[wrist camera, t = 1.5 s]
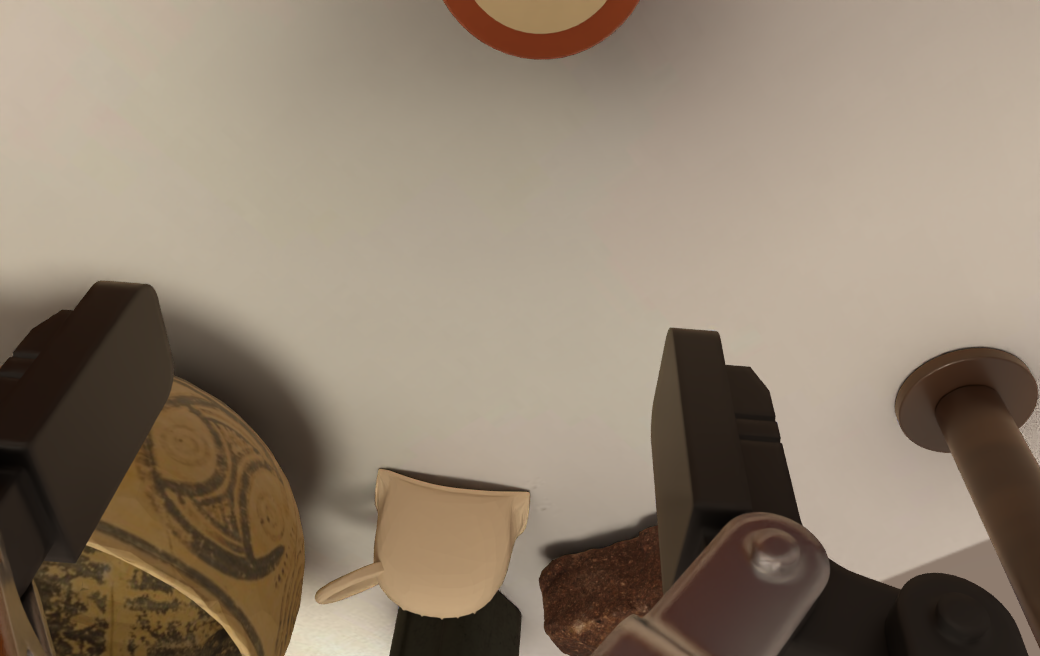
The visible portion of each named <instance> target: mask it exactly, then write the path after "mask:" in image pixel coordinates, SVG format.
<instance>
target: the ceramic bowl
mask: <svg viewBox="0 0 1040 656" xmlns="http://www.w3.org/2000/svg"><path fill="white" fill-rule="evenodd" d="M1 367H2V366H1ZM1 367H0V368H1ZM304 568H305V548H304V537H303V532H302V526H301V521H300V516H299V511H298V508H297V505H296V502H295V499H294V496H293V494H292V491H291V488H290V485H289V482H288V480H287V478H286V476H285V475H284V473H283V471H282V469H281V468H280V466H279V464H278V463H277V461H276V459H275V457H274V456H273V454H272V452H271V451H270V449H269V448H268V447H267V446H266V444H265V443H264V442H263V441H262V439H261V438H260V437H259V436H258V434H257V433H256V432H255V431H254V430H253V429H252V428H251V427H250V426H249V425H248V424H247V423H246V422H245V421H244V420H243V419H242V418H241V417H240V416H239V415H238V414H237V413H236V412H234V411H233V410H232V409H231V408H230V407H228V406H227V405H226V404H225V403H224V402H222V401H220V400H219V399H217V398H215V397H214V396H212V395H210V394H209V393H207V392H205V391H203V390H202V389H200V388H198V387H197V386H195V385H193V384H192V383H190V382H188V381H186V380H184V379H182V378H179V377H177V376H174V378H173V384H172V389H171V392H170V395H169V397H168V399H167V401H166V403H165V405H164V407H163V408H162V410H161V412H160V414H159V416H158V417H157V419H156V421H155V423H154V425H153V426H152V428H151V430H150V432H149V433H148V435H147V437H146V439H145V441H144V442H143V444H142V446H141V448H140V450H139V451H138V453H137V455H136V457H135V458H134V460H133V462H132V464H131V466H130V467H129V469H128V471H127V473H126V474H125V476H124V478H123V480H122V482H121V483H120V485H119V487H118V489H117V491H116V492H115V494H114V496H113V498H112V499H111V501H110V503H109V505H108V507H107V508H106V510H105V512H104V514H103V516H102V517H101V519H100V521H99V523H98V524H97V526H96V528H95V530H94V532H93V533H92V535H91V537H90V539H89V541H88V542H87V544H86V546H85V548H84V549H83V551H82V553H81V555H80V557H79V558H78V560H77V562H76V564H75V563H63V562H52V561H43V563H42V564H41V566H40V568H39V569H38V571H37V573H36V574H35V576H34V578H33V580H34V582H35V584H36V586H37V589H38V592H39V595H40V599H41V603H42V606H43V610H44V613H45V617H46V620H47V624H48V628H49V631H50V635H51V638H52V642H53V645H54V649H55V653H56V656H284V655H285V652H286V650H287V648H288V645H289V643H290V639H291V635H292V632H293V628H294V624H295V621H296V617H297V614H298V611H299V608H300V601H301V593H302V585H303V576H304Z"/></svg>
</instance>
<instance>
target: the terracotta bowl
mask: <svg viewBox="0 0 1040 656" xmlns="http://www.w3.org/2000/svg"><path fill="white" fill-rule="evenodd" d="M639 1H640V0H443V2H444V3H445V5H446V6H447V8H448V9H449V11H450V12H451V14H452V15H453V16H454V17H455V18H456V20H457V21H458V22H459V23H460V24H461V25H462V26H463V27H464V28H465V29H466V30H467V31H468V32H469V33H470V34H472V35H473V36H474V37H476V38H477V39H478V40H480V41H481V42H483V43H484V44H486V45H488V46H490V47H492V48H493V49H496V50H498V51H501V52H503V53H506V54H508V55H512V56H516V57H520V58H527V59H556V58H563V57H567V56H571V55H574V54H577V53H580V52H582V51H585V50H587V49H589V48H591V47H593V46H595V45H597V44H598V43H600V42H602V41H603V40H605V39H606V38H607V37H609V36H610V35H611V34H613V33H614V32H615V31H616V30H617V29H618V28H619V27H620V26H621V25H622V24H623V23H624V22H625V21H626V20H627V18H628V17H629V16H630V15H631V13H632V12H633V11H634V9H635V8H636V6H637V4H638V3H639Z"/></svg>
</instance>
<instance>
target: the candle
mask: <svg viewBox="0 0 1040 656" xmlns="http://www.w3.org/2000/svg"><path fill="white" fill-rule="evenodd" d="M520 631H521V614H520V612H519V611H518V609H517V608H516V607H515V606H513V605H512V604H511V603H510V602H509V601H508V600H507V599H506V598H505V597H504V596H503V595H502V594H500V593H499V592H498V591H497V592H496V594H495V595H494V596H493V598H492V599H491V600H490V602H488V603H487V604H486V605H485V606H484V607H482V608H481V609H479V610H478V611H476V613H475V614H474V613H471V614H469V615H465V616H461V617H459V618H457V617H453V618H443V619H442V620H441V618H438V617H429V616H421V615H420V614H415V613H413V612H410V611H407V610H402V608H401V607H400V606H399V609H398V614H397V619H396V624H395V629H394V634H393V639H392V645H391V650H390V655H389V656H519V645H520Z"/></svg>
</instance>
